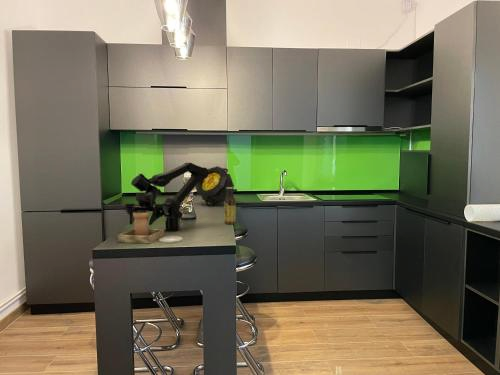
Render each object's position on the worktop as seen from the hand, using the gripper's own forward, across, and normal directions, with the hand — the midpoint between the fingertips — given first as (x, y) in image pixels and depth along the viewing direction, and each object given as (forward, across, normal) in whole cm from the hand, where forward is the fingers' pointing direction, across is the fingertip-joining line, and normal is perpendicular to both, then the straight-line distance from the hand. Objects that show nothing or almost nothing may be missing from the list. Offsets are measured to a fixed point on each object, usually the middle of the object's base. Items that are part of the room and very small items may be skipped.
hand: (140, 224), depth 159 cm
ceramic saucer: (+4, +14, +5) cm, 16 cm away
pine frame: (+4, 0, +6) cm, 7 cm away
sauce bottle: (-25, +32, +35) cm, 54 cm away
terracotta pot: (+4, 0, +6) cm, 7 cm away
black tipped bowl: (-76, +7, +85) cm, 114 cm away
